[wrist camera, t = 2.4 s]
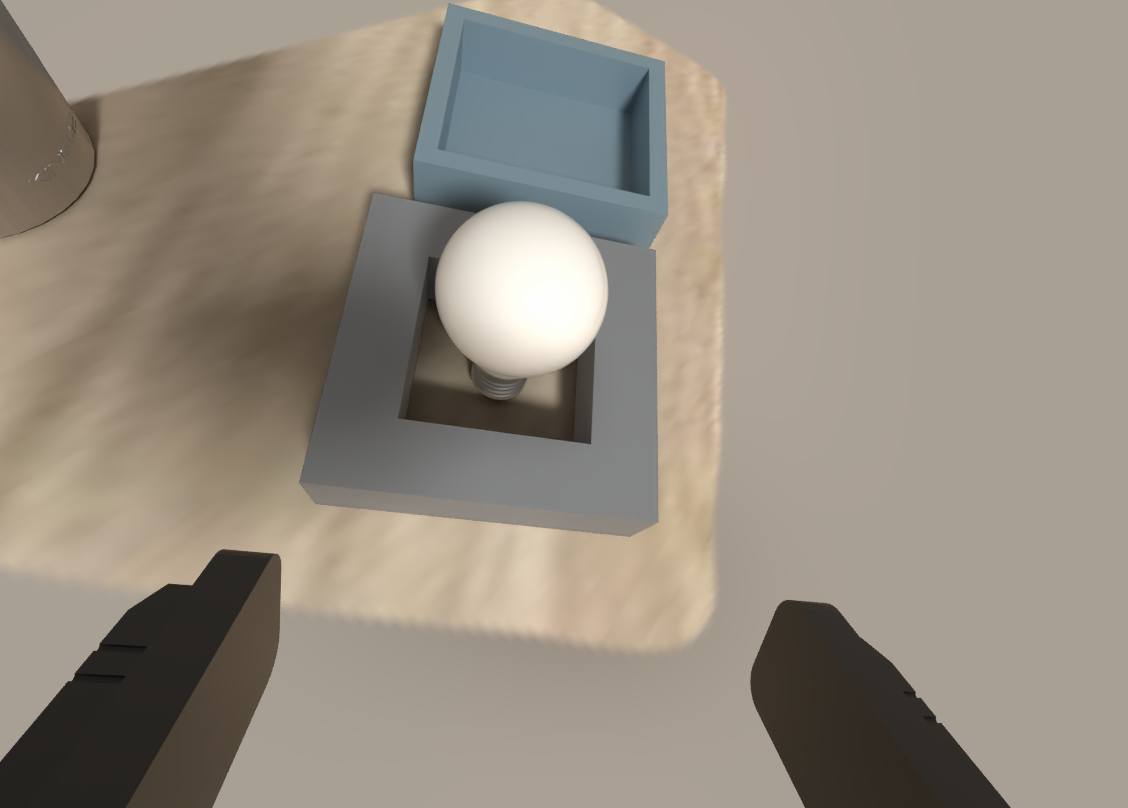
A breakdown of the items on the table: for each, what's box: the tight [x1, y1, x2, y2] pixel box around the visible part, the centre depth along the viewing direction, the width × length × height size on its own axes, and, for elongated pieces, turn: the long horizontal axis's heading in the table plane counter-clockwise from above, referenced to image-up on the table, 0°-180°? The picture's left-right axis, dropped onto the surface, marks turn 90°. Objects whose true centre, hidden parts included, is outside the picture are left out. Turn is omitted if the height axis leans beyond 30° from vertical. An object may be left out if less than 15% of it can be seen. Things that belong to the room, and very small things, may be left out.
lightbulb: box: [435, 201, 609, 400], centre depth 23 cm, size 6×6×11 cm
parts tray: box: [413, 3, 668, 249], centre depth 32 cm, size 13×12×4 cm
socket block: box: [299, 193, 658, 537], centre depth 26 cm, size 14×14×4 cm
